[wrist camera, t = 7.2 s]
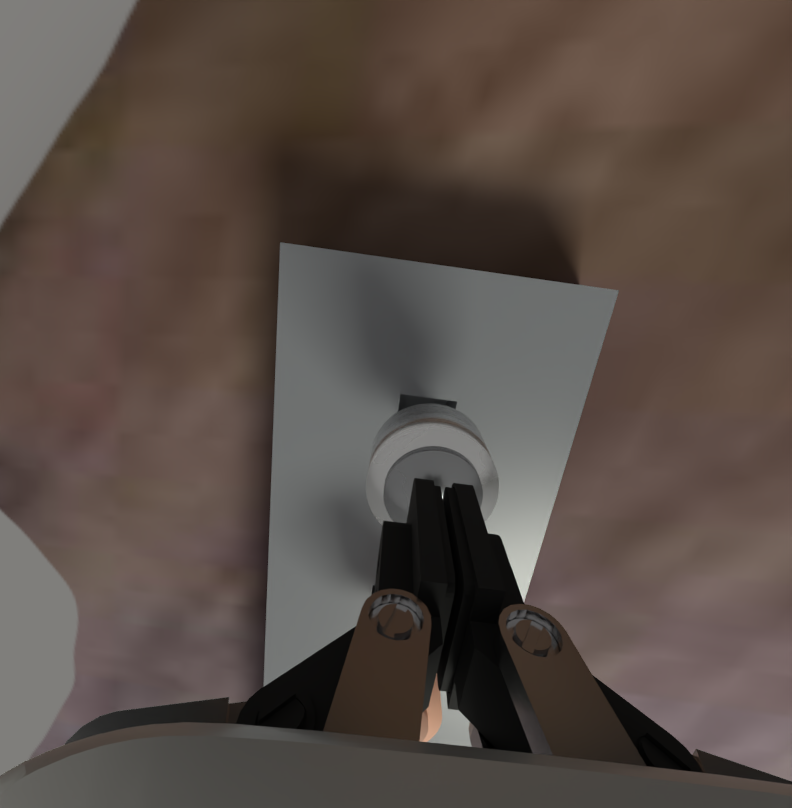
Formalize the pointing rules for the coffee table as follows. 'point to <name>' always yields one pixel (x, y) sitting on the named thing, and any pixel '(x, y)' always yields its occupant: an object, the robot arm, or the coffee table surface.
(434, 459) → the knob
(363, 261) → the knob panel
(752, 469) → the coffee table surface
